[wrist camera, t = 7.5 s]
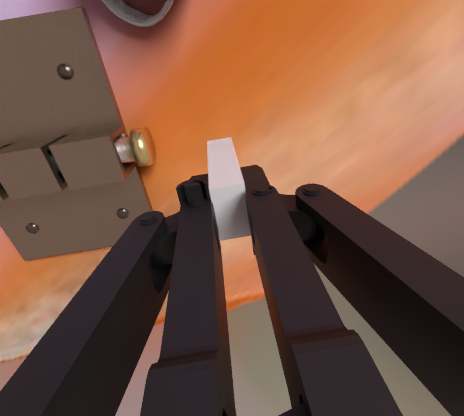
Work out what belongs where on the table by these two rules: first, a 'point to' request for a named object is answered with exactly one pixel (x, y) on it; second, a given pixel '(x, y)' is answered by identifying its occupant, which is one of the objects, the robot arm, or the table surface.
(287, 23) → the table surface
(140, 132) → the pin
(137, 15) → the ceramic mug
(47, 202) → the hinge
